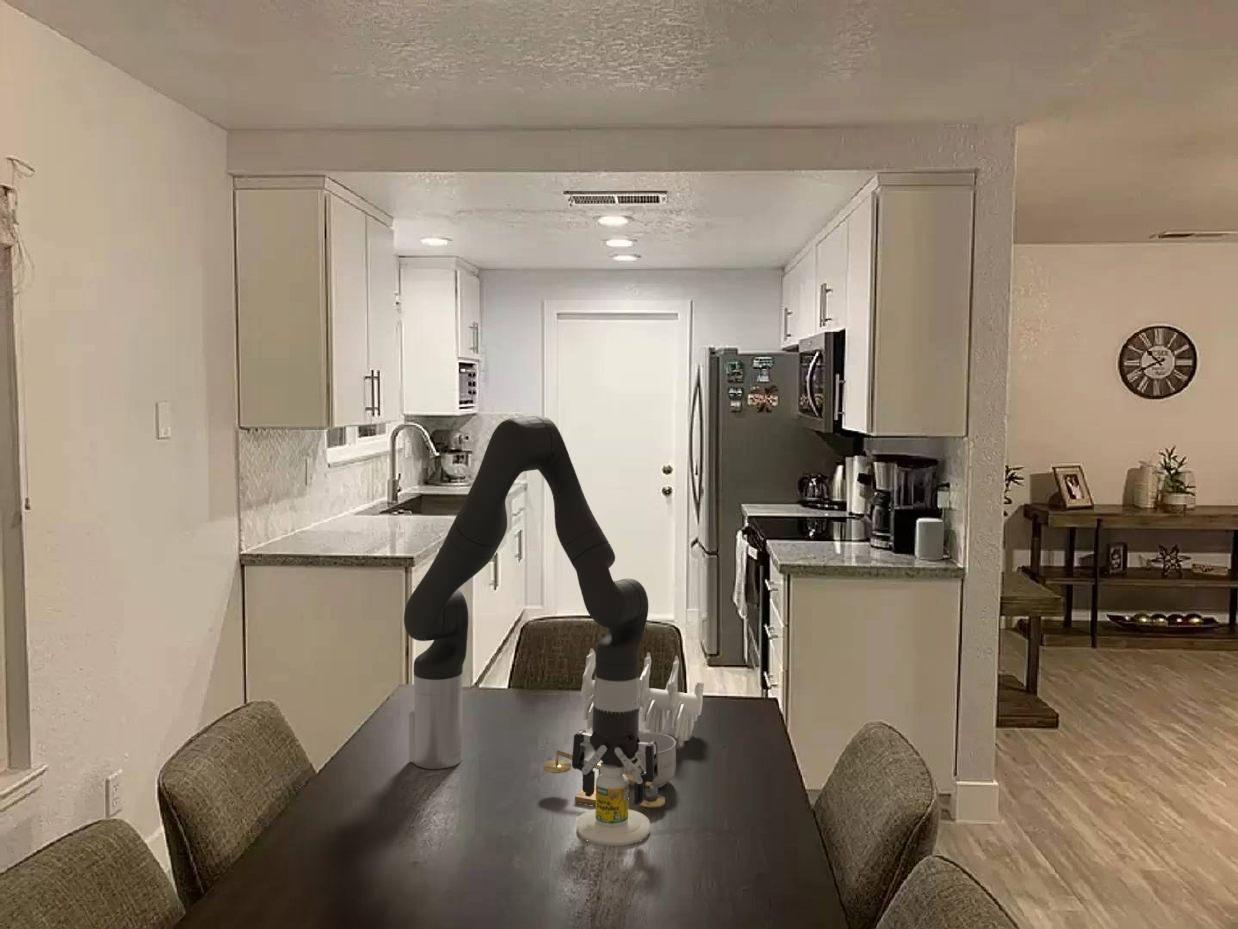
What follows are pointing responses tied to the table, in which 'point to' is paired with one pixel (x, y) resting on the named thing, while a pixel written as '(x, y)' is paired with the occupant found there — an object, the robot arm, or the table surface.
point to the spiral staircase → (653, 700)
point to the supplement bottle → (612, 796)
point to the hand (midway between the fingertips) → (613, 799)
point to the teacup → (659, 756)
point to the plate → (613, 829)
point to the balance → (563, 766)
